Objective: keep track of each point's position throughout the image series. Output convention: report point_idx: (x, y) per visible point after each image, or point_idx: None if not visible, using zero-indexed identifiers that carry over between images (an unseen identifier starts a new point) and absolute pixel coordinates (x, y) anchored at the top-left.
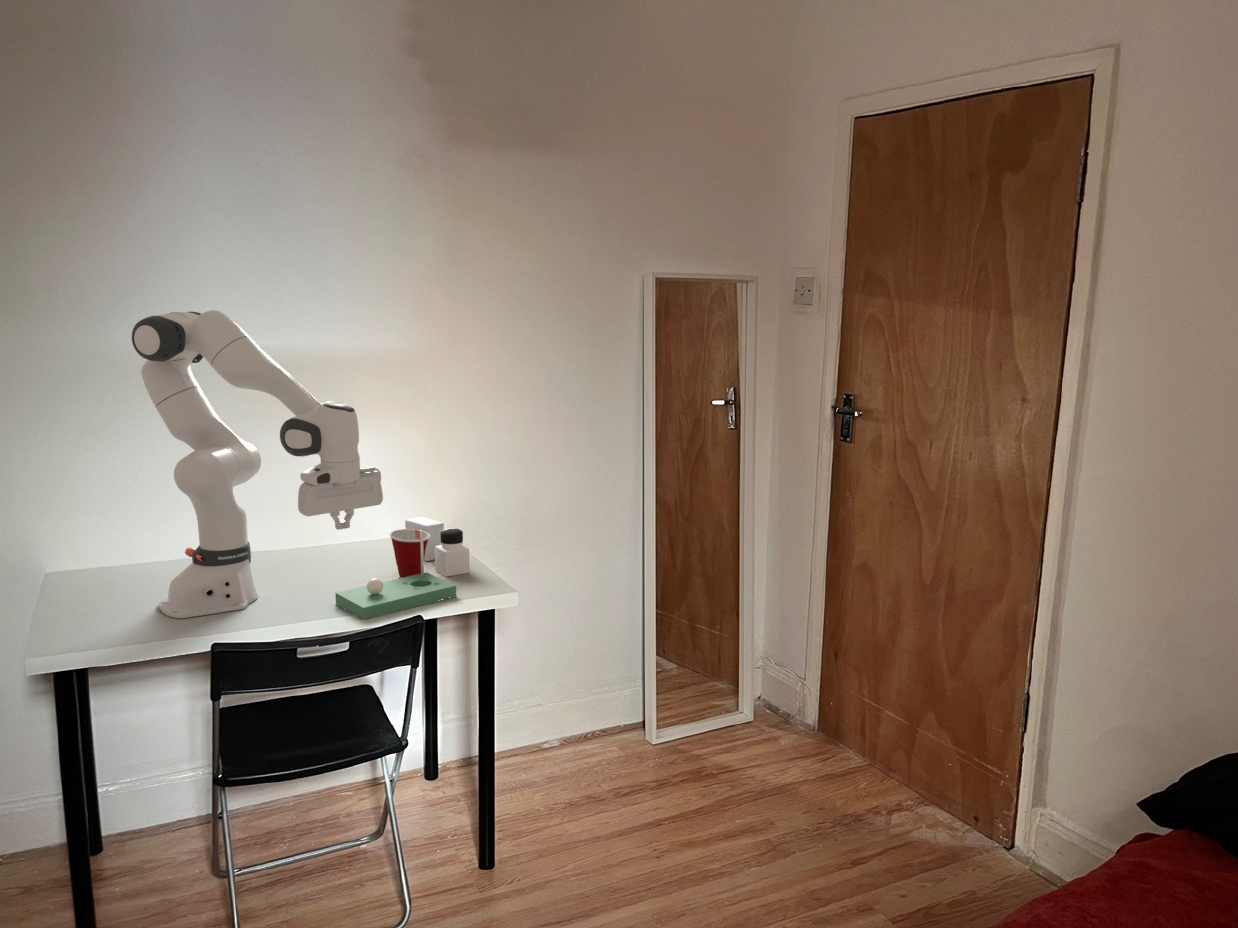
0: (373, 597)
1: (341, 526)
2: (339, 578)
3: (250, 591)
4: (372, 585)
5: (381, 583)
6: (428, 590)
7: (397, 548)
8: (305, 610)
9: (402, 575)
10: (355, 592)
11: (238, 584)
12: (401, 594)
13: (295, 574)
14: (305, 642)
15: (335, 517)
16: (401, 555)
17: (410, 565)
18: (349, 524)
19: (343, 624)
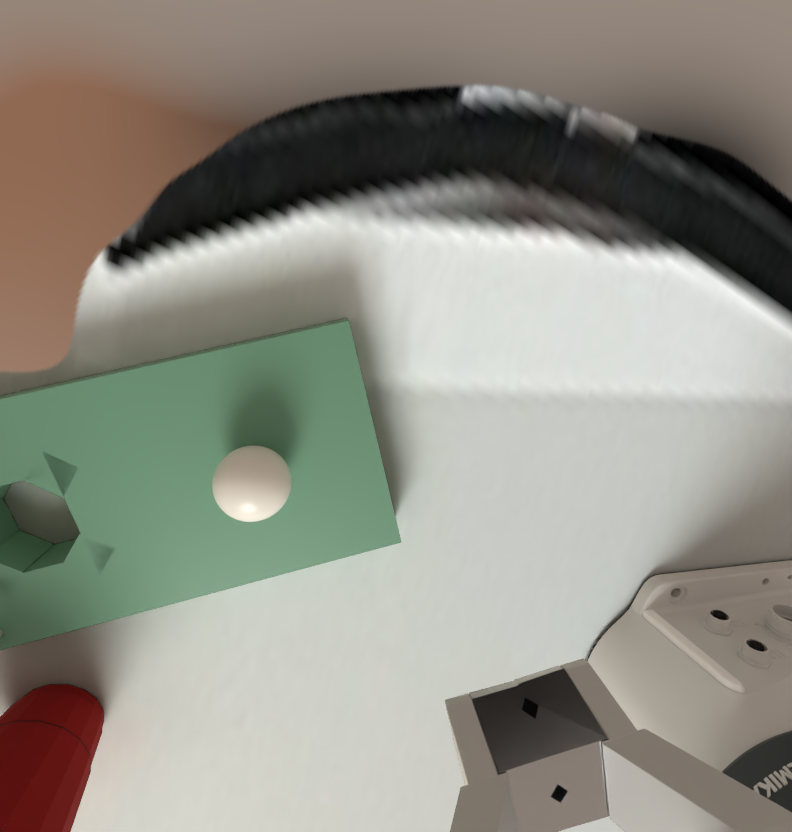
0: (275, 429)
1: (562, 691)
2: (317, 751)
3: (636, 652)
4: (268, 461)
5: (221, 469)
6: (3, 420)
7: (40, 828)
8: (500, 499)
9: (90, 705)
10: (329, 516)
11: (707, 654)
12: (146, 417)
13: (432, 813)
14: (596, 182)
15: (758, 805)
16: (42, 784)
17: (29, 729)
18: (458, 729)
19: (427, 303)
